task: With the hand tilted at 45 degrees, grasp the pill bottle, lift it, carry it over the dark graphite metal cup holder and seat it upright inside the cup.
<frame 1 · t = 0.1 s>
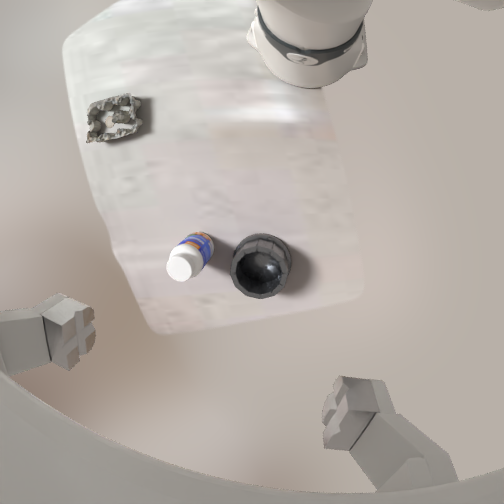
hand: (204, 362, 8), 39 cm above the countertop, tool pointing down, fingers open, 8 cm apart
pill bottle: (199, 245, 50), on the countertop
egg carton: (118, 118, 44), on the countertop
cup holder: (262, 261, 49), on the countertop
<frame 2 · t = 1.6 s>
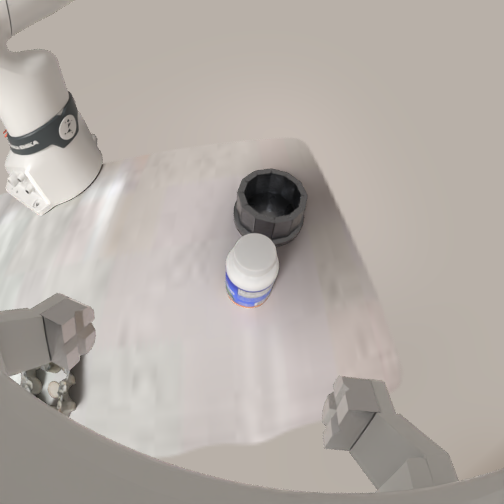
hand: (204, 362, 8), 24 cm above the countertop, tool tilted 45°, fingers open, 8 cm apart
pill bottle: (248, 289, 36), on the countertop
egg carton: (55, 377, 28), on the countertop
cup holder: (268, 216, 41), on the countertop
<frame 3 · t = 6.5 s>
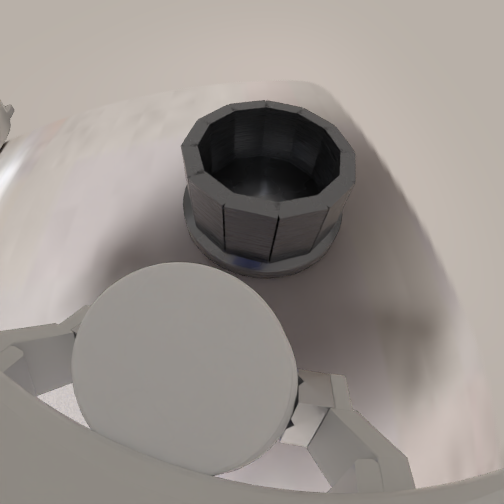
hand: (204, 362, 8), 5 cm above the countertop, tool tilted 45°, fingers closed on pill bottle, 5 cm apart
pill bottle: (212, 388, 13), on the countertop, touching gripper
cup holder: (262, 206, 18), on the countertop
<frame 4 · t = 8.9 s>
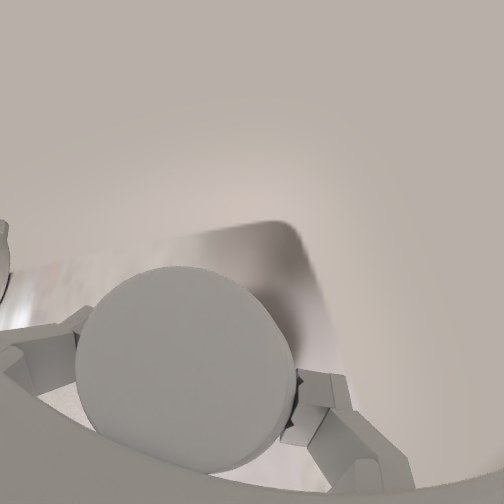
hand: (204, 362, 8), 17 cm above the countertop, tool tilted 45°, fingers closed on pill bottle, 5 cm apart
pill bottle: (214, 389, 13), point 11 cm above the countertop, touching gripper
when the fingers open (8 cm above the countertop, at t = 11.5 s): pill bottle drops 2 cm, resting on cup holder.
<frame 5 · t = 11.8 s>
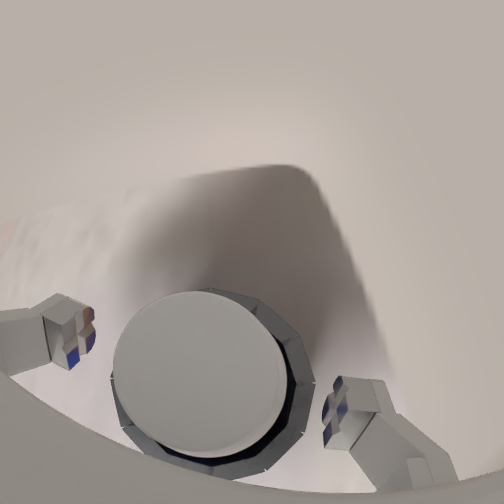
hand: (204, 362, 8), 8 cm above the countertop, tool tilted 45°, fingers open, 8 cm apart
pill bottle: (216, 388, 15), point 1 cm above the countertop, touching cup holder
cup holder: (216, 390, 15), on the countertop
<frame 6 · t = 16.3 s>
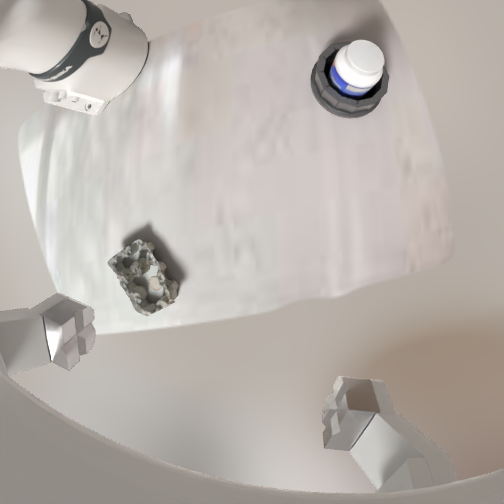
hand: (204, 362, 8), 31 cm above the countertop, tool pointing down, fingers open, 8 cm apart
pill bottle: (347, 82, 32), point 1 cm above the countertop, touching cup holder
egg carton: (150, 273, 43), on the countertop
cup holder: (346, 84, 32), on the countertop
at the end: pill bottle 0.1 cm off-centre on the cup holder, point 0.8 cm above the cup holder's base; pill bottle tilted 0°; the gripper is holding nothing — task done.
